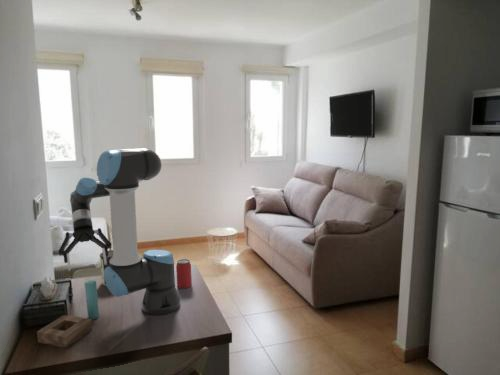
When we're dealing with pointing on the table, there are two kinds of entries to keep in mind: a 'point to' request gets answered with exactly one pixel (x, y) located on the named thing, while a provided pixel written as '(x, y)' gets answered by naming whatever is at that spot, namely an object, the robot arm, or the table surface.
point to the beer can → (183, 273)
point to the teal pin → (92, 299)
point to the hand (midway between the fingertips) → (87, 266)
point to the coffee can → (103, 266)
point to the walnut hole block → (64, 331)
